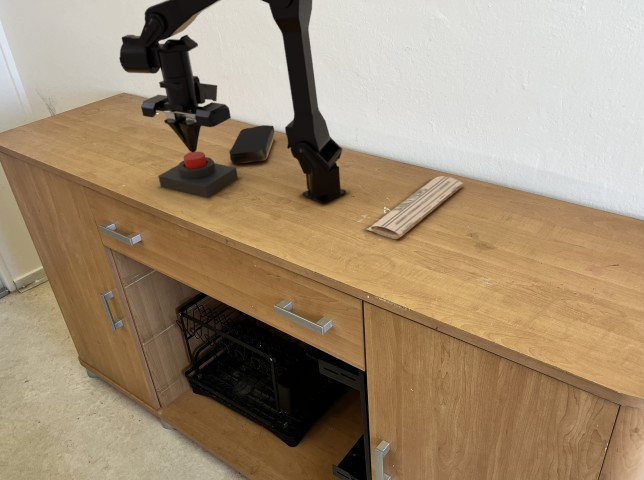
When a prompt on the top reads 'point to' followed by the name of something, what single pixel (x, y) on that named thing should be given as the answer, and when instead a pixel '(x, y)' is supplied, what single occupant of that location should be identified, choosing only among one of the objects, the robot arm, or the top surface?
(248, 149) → the black sponge
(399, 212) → the newspaper
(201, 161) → the power button
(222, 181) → the grey button base
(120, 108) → the top surface
